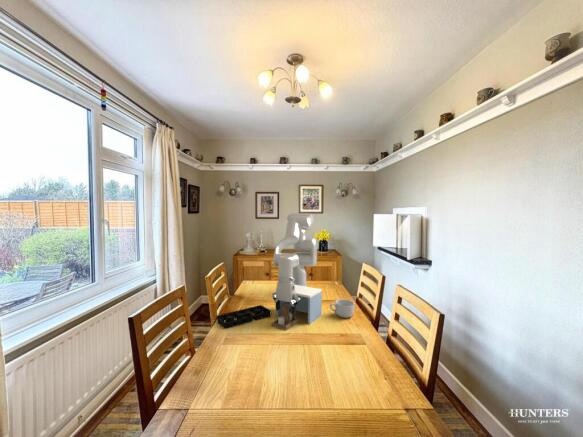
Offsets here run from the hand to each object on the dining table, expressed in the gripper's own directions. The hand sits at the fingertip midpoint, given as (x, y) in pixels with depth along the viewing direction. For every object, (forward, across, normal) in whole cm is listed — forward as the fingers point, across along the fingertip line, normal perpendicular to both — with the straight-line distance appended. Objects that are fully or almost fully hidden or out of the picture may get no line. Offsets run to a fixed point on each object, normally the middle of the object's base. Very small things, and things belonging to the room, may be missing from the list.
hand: (285, 311), depth 140 cm
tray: (+7, 0, 0) cm, 7 cm away
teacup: (+7, -21, -27) cm, 35 cm away
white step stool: (+7, 0, -14) cm, 16 cm away
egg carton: (+7, +23, +6) cm, 25 cm away
